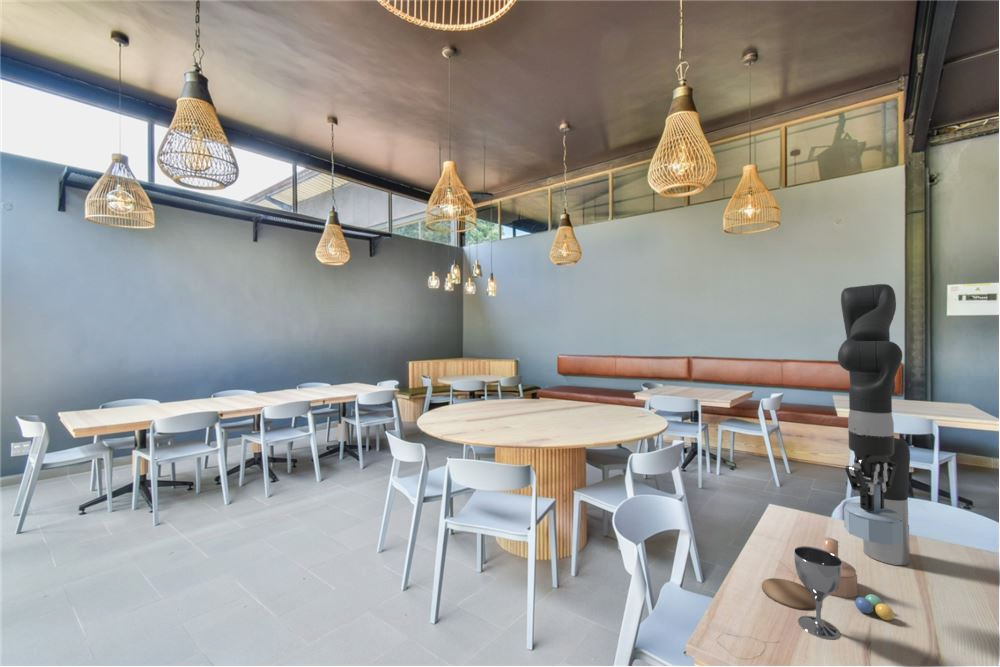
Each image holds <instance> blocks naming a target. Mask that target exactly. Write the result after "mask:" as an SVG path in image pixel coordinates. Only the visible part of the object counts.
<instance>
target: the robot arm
mask: <svg viewBox="0 0 1000 667" xmlns="http://www.w3.org/2000/svg"><path fill="white" fill-rule="evenodd" d="M840 295H841V296H840V304H841V311H842V317H843V324H844V330H845V336H846V339H845V340H844V341H843V343H842V344H841V346H840V347H839V350H838V351H837V352H838V353H837V361H838V364H839V366H840V367H841V368H842V369H843V370H845V371H847V372H849V373H848V374H849V385H850V386H849V389H848V393H849V394H848V395H849V396H848V399H849V404H848V406H849V410H848V419H847V420H848V422H847V423H848V424H847V427H848V448H849V450H850V451H852V452H853V453H854V459H853V464H852V465H846V466H845V472H846V475H847V479H848V481H849V484H850V487H851V489H852V490H854V491H857V492H859V497H860V498H859V499H860V501H859V503H860V507H861V508H862V509H864V510H867V511H870V512H871V511H874V495H873V492H874V485H875V484H879V485H880V495H881V509H884V508H887V509H890V510H892V511H895V512H897V513H898V514H899V515H900V516H901V520H902V521H903V542H902V543H898V544H895V545H888V544H882V543H875V542H869V541H867V540H864V539H862V542H863V545H862V546H863V553H864V554H865V555H867V556H868V557H869V558H871V559H874V560H876V561H878V562H882V563H885V564H887V565H894V566H895V565H896V566H906V565H909V564H910V559H911V557H910V555H911V554H910V524H909V500H908V499H909V498H908V497H909V496H908V495H909V493H908V492H909V487H910V465H911V464H910V463H911V453H910V452H911V451H910V447H909V445H908V443H907V441H905V440H904V439H902V438H896V437H895V430H894V429H895V428H894V427H895V426H894V418H893V405H892V404H893V403H892V396H893V395H894V393H895V391H896V382H895V380H896V379H895V378H896V376H897V374H898V371H899V369H900V366H901V364H902V360H903V351H902V349H901V347H900V346H899V345H898V344H897V343H896V342H893V341H891V336H890V328H891V325H892V322H893V321H894V316H895V313H896V310H897V300H896V298H897V297H896V292H895V290H894V288H893V287H892V286H891V285H890V284H886V283H878V284H877V283H876V284H867V285H859V286H850V287H845V288H844V289H843V290H842V292H841V294H840ZM866 483H868V488H867V485H866Z"/></svg>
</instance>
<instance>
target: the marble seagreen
mask: <svg viewBox="0 0 1000 667" xmlns="http://www.w3.org/2000/svg"><path fill="white" fill-rule="evenodd" d="M864 598H866V599H867V600H869V601H870V602H871V603H872V605H873V611H875V606H876V605H877V604H884V603H883V601H882V599H881V598H880V597H879V596H877V595H876V594H867V595H866V596H865V597H864Z"/></svg>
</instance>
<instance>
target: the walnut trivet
mask: <svg viewBox="0 0 1000 667" xmlns="http://www.w3.org/2000/svg"><path fill="white" fill-rule="evenodd" d="M761 590H762V592H763V593H764V594H765V595H766V597H768V598H770V599H771V600H773V601H774V602H776V603H778V604H781V605H783V606H785V607H788V608H791V609H796V610H803V611H805V610H807V611H809V610H814V609H816V606H815V601H814V598H813V596H812V594H811V593H810V592H809V590H808V589H807V588H806V587H805V586H804V585H803V584H801V583H798V582H795V581H792V580H789V579H785V578H776V577H774V578H772V577H771V578H767V579H764V580H763V581H762V583H761Z"/></svg>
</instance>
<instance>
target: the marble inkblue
mask: <svg viewBox="0 0 1000 667" xmlns="http://www.w3.org/2000/svg"><path fill="white" fill-rule="evenodd" d="M854 605H855V607H856V609H857V610H858V611H859V612H862V613H863V614H871V613H872V612H873V611H874V609H873V605H872V603H871V602H870V601H869V600H867V599H866V598H865V597H861V596H860V597H857V598H856V599H855V602H854Z"/></svg>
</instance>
